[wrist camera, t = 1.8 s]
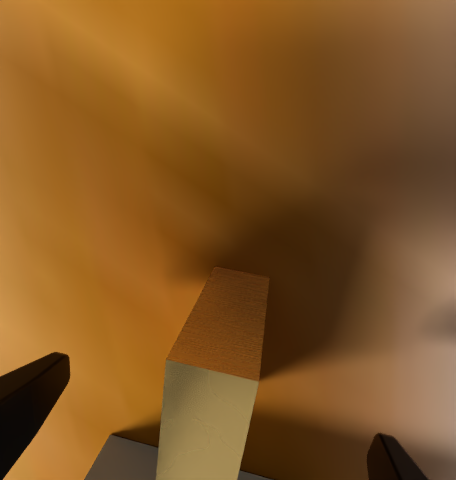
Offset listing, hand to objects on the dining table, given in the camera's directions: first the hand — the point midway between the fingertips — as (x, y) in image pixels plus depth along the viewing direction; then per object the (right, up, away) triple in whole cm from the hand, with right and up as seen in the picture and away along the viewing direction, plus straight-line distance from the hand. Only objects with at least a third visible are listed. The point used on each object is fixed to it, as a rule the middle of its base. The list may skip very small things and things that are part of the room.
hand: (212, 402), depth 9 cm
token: (+1, +1, +3) cm, 3 cm away
